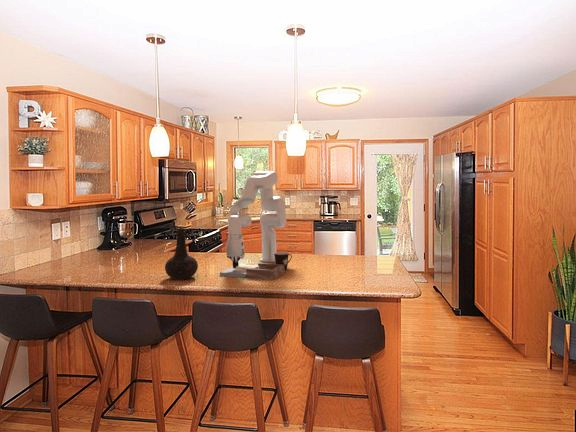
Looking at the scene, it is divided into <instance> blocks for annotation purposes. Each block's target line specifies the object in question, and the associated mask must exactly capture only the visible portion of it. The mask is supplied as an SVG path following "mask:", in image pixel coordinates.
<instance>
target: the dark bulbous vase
mask: <svg viewBox="0 0 576 432" xmlns="http://www.w3.org/2000/svg"><path fill="white" fill-rule="evenodd" d="M175 232H176V244H175V245H176V246H175V251H174V254H173V256H172V257H170V258H169V259H168V260H166V263H165V264H164V270H165V271H164V272H165V273H166V274H167V276H168V277H169V278H171V279H173V280H187V279H190V278H193V277H194V276H195V274H196V273H197V271H198V268H199V266H198V265H199V264H198V261H197V260H196V258H195V257H192V256H190V255H189V254H188V251H187V244H186V233H187V231H186V229H185V227H184V228H181V227H180V228H177V229H176V231H175Z"/></svg>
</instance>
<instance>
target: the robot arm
mask: <svg viewBox="0 0 576 432" xmlns="http://www.w3.org/2000/svg"><path fill="white" fill-rule="evenodd" d="M278 177H279V176H278V174H277V172H275V171H271V170H270V171H269V170H268V171H266V170H265V171H264V170H263V171H253V172H252V173H251V176H248V177H247V178H246V181H245V184H244V187H243V190H242V194H241V196H240V198H238V199H237V200H236V201H235V202H234V204H232V205H231V208H230V209H229V212H228V215H227V234H228V236H227V237H228V238H227V241H226V245H225V246H226V248H225V249H226V253H225V254H226V258H227V259H230V261H231V262H232V267H233V269H234V268H235V269H236V266H239V261H241V260H242V259H245V254H246V253H245V252H246V250H245V243H244V239H243V238H244V235H243V234H242V228H248V227H249V226H251V225H252V220H253V219H252V217H251V216H250V215H249V214H245V213H244V214H243V213H239V212H240V211H241V210H242V209H245V208H246V207H247V206H250V205H252V204H254V203H255V201H256V198H257V195H258V192H259V194H260V195H259V196H260V207H261V209H262V210H263V211H265V212H264V213H262V214H261V215H260V217H259V223H260V227H261V256H262V257H260V258H259V261H260V262H262V263H273V262H274V263H275V255H274V253H277V233H276V230H275V229H276V228H277V229H281V228H284V227H285V226H286V224H287V210H286V201H285V200H284V198H283V197H281V196H274V189H273V186H275V185H276V184H277V182H278V181H279V178H278Z"/></svg>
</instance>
